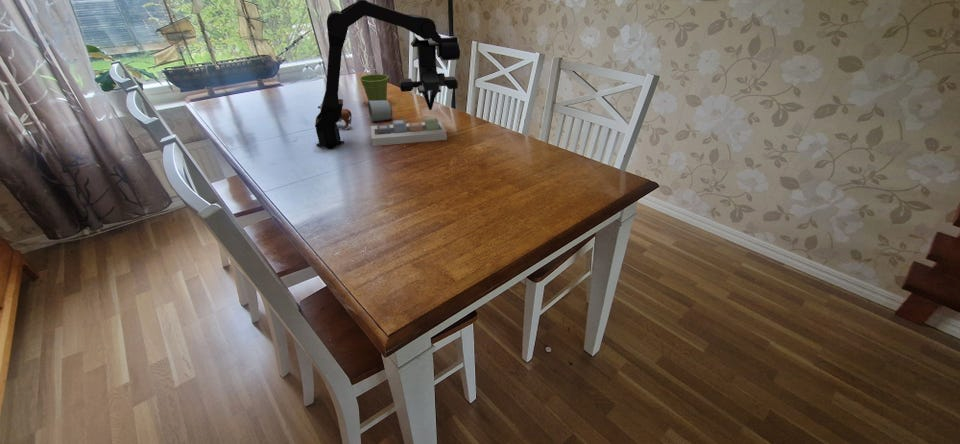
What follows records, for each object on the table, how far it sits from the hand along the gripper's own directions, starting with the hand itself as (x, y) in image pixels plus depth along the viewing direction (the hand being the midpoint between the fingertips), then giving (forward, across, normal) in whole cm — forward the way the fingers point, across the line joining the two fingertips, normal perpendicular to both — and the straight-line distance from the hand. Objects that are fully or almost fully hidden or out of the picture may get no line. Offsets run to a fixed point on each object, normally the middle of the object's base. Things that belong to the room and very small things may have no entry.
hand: (430, 109), depth 129 cm
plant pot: (+9, -17, +40) cm, 45 cm away
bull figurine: (+9, -33, +16) cm, 38 cm away
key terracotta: (+8, -5, 0) cm, 9 cm away
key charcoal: (+8, -16, 0) cm, 18 cm away
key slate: (+7, -11, 0) cm, 13 cm away
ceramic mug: (+9, -17, +21) cm, 29 cm away
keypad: (+9, -8, 0) cm, 12 cm away
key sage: (+7, 0, 0) cm, 7 cm away
